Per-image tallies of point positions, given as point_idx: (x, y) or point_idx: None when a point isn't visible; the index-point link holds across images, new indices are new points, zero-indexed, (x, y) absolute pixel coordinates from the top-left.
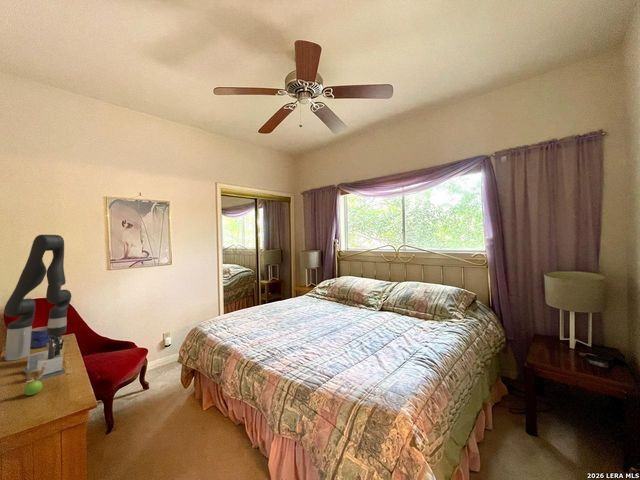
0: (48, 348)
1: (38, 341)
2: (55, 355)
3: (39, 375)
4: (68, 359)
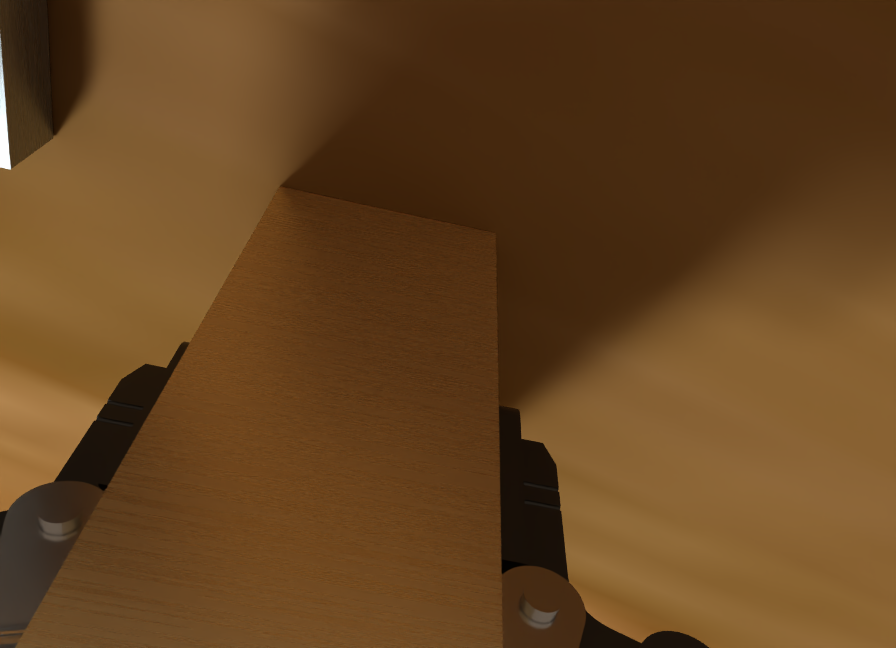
0: (249, 505)
1: None
2: (141, 393)
3: None
4: None
